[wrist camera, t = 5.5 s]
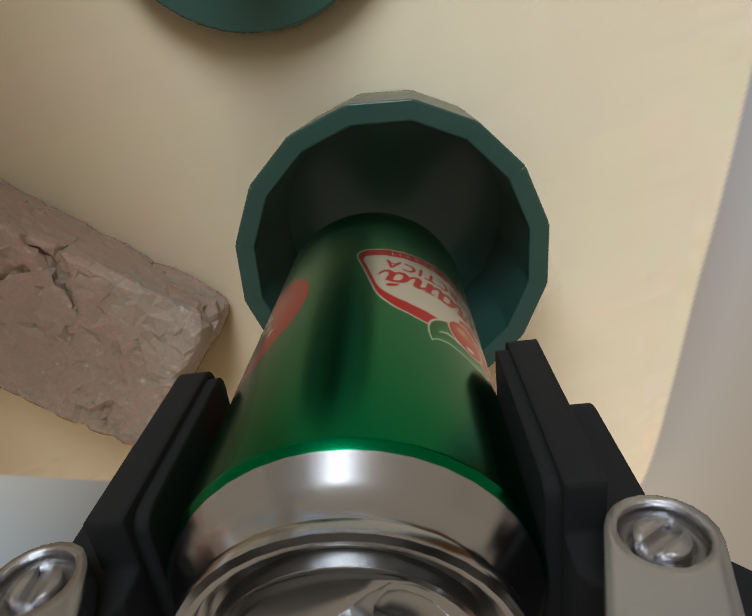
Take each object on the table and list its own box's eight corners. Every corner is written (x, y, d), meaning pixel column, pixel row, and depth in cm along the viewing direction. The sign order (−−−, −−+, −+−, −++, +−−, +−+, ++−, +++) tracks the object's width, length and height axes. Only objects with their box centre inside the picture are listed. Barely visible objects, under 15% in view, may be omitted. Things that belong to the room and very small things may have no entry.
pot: (231, 163, 28) (177, 195, 21) (453, 42, 25) (472, 35, 19) (345, 357, 31) (330, 437, 25) (547, 267, 29) (592, 329, 22)
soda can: (491, 304, 18) (654, 709, 7) (360, 389, 19) (321, 843, 8) (391, 170, 16) (397, 418, 5) (256, 273, 18) (38, 641, 7)
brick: (238, 293, 30) (210, 331, 26) (177, 413, 33) (143, 465, 29) (-81, 128, 28) (-171, 139, 23) (-116, 274, 31) (-202, 308, 26)
